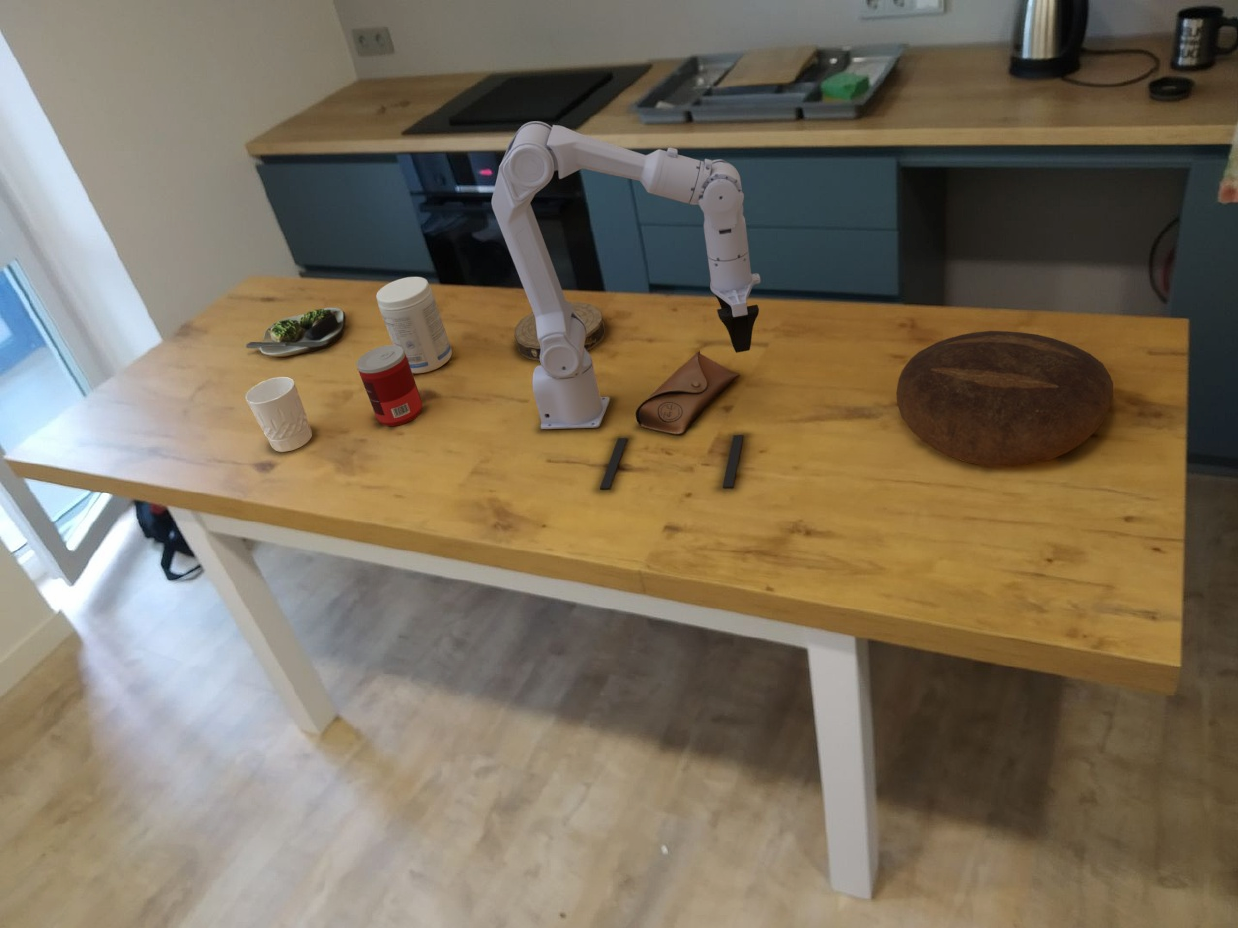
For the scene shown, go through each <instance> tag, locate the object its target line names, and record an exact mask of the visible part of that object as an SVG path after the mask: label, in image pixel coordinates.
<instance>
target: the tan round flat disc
mask: <svg viewBox="0 0 1238 928" xmlns="http://www.w3.org/2000/svg"><path fill="white" fill-rule="evenodd" d="M568 302H569V303H571V305H572V307H573V310H574V312H575V313H576V315H577V316H578V317H580V318H581V319H582V320H583V322H584V323H585V325H586V328H587V337H586V340H585V343H584V348H585V349H586V351H587V352H589V350H592V349H593V348H594V347H596V346H597V345H598V344H599V343H600V342H601V341H602V340H603V339H604V336H605V334H606V327H605V323H604V318H603V317H604V316H603V313H602V311H601V310H600V309H599V307H598V306H595V305H593V304H591V303H587V302H580V301H572V302H570V301H568ZM513 335H514V336H513V337H514V340H515V343H516V347H517V350H518V351H519V353H520V354H521V356H523V357H524V358H527V359H528V360H533V361H536V362H540V352H541V347H540V343H539V341H538V337H537V328H536V319H535V315H534V313H533V311H532V312H530V313H529V314H527V315H526V316H523V318H522V319H521V320H519V321H518V322H517V324H516V326H515V327H514V332H513Z"/></svg>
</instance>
